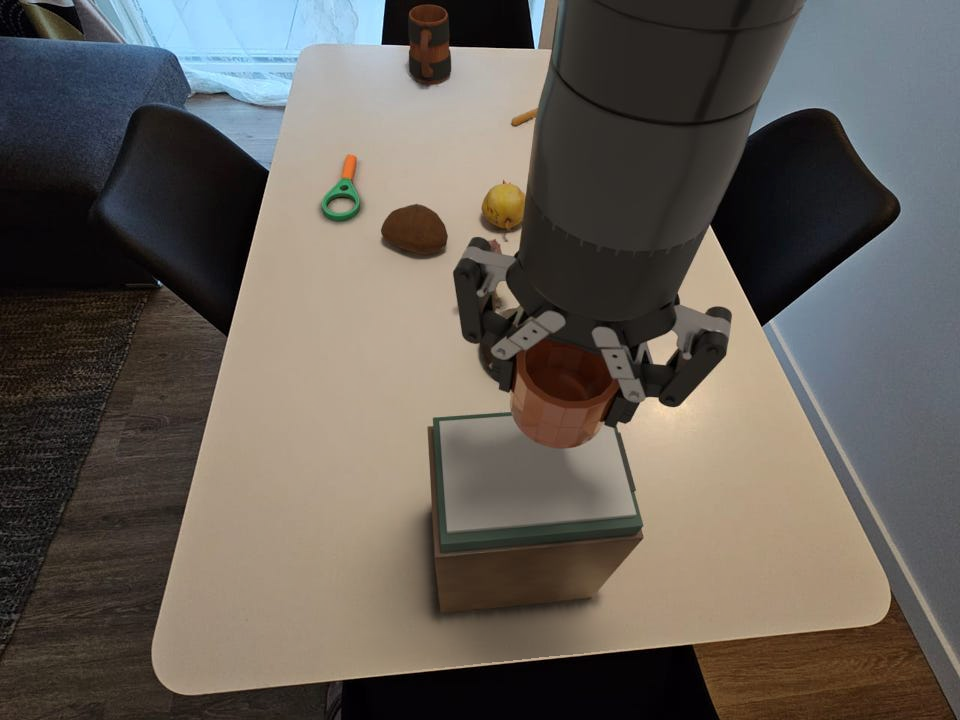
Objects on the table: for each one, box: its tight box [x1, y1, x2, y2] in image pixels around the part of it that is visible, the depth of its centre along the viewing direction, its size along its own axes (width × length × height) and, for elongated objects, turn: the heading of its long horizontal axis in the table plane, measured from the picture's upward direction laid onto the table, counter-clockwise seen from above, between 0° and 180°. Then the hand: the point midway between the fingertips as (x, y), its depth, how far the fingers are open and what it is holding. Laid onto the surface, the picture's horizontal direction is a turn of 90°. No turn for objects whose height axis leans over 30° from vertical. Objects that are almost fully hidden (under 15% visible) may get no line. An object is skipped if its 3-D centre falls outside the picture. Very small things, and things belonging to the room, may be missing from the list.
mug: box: [407, 4, 452, 85], centre depth 112 cm, size 9×12×12 cm
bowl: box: [509, 337, 620, 449], centre depth 35 cm, size 6×6×5 cm
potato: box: [380, 203, 449, 255], centre depth 86 cm, size 7×10×7 cm
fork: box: [511, 107, 538, 127], centre depth 111 cm, size 2×2×20 cm
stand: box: [427, 425, 644, 614], centre depth 54 cm, size 16×11×20 cm
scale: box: [432, 411, 644, 552], centre depth 45 cm, size 15×10×3 cm
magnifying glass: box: [321, 154, 361, 222], centre depth 95 cm, size 15×6×2 cm, turn 179°
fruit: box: [481, 179, 526, 233], centre depth 90 cm, size 7×7×10 cm
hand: (560, 397), depth 36 cm, fingers closed on bowl, 6 cm apart
